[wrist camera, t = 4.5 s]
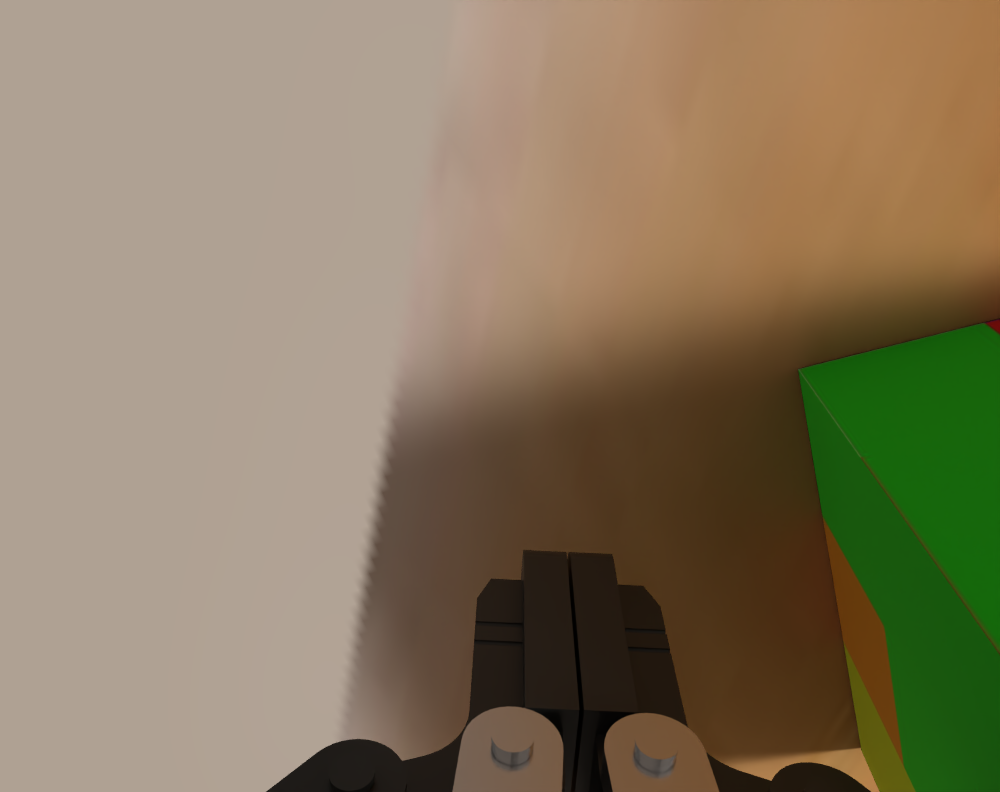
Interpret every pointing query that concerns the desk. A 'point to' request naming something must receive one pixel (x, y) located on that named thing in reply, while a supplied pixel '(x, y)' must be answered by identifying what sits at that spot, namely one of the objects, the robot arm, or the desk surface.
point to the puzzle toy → (916, 550)
